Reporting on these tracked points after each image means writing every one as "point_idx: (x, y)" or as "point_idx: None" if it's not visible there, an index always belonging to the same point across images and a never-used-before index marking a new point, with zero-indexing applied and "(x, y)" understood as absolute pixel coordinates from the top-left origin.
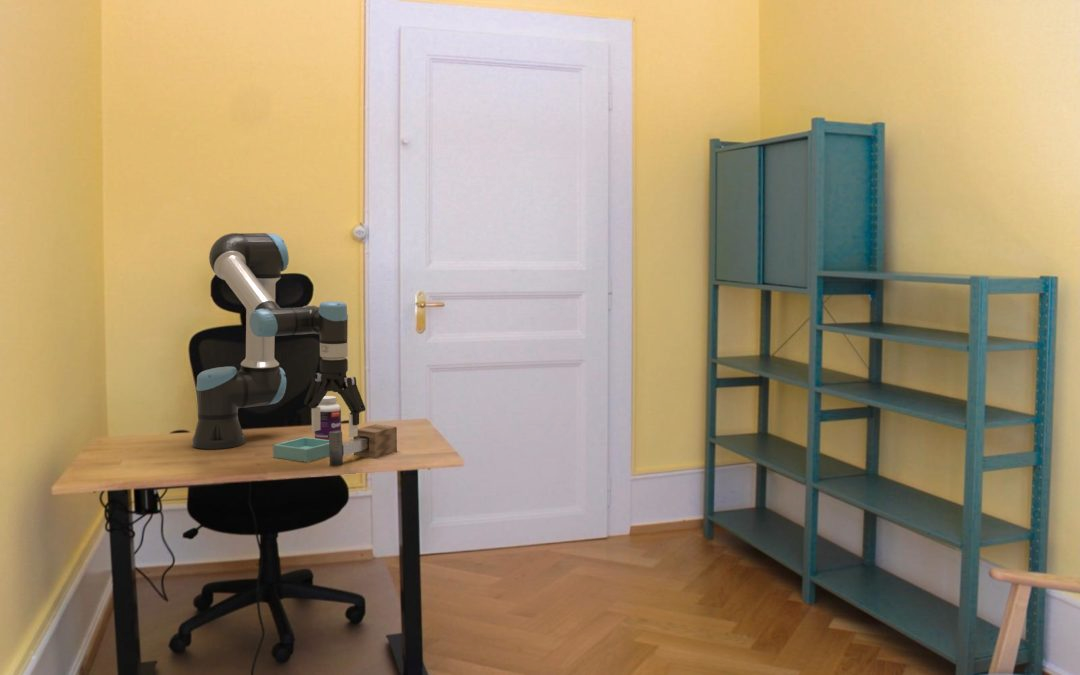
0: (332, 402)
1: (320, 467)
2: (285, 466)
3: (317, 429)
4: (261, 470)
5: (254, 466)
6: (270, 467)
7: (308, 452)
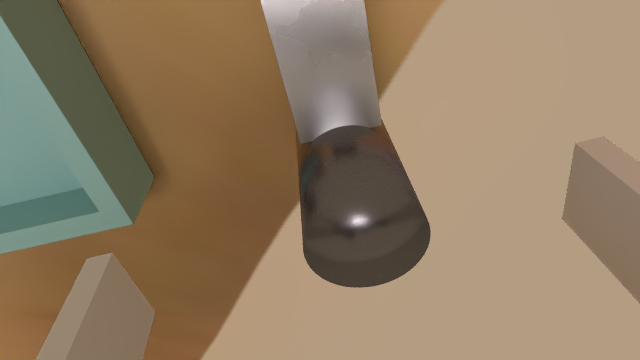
0: None
1: None
2: (176, 271)
3: (129, 289)
4: (185, 342)
5: None
6: None
7: (131, 198)
